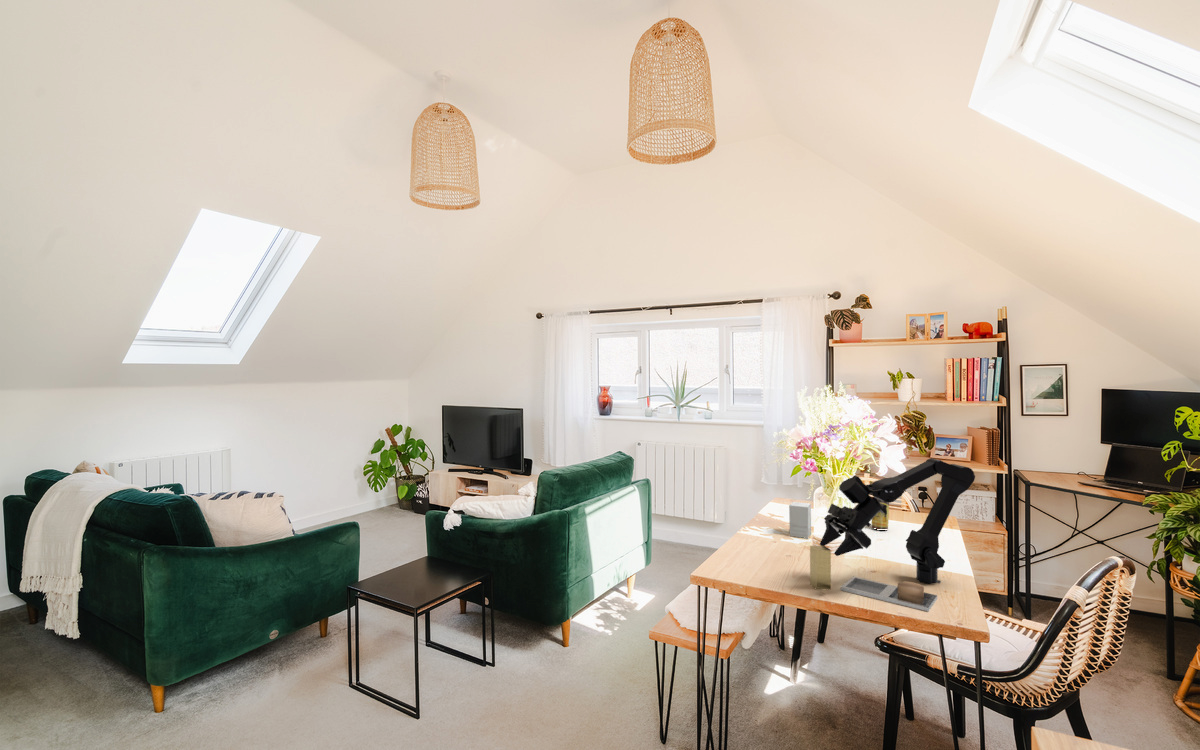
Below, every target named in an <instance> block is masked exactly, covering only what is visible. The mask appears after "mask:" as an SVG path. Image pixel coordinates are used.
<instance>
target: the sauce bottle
mask: <svg viewBox="0 0 1200 750" xmlns="http://www.w3.org/2000/svg"><path fill="white" fill-rule="evenodd" d="M872 498H875V497H873V496H872ZM876 499H877V498H876ZM877 500H878V501H879V502H880V503H881V504H884V505H886V506H887V507H886V509H887V514H884V513H881V512H878V513H877V514H876V515H875V516H874V517H873V519H872V520H871V528H872V527H873V528H876V529H888V528H889V515H890V503H888V502H885V501H882V500H880V499H877Z"/></svg>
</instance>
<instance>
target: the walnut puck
mask: <svg viewBox="0 0 1200 750" xmlns="http://www.w3.org/2000/svg"><path fill="white" fill-rule="evenodd" d="M897 586H898V599H899V600H903V601H907V602H911V603H915V604H923V603H924V592H925V588H924V586H923V585H922V584H921V583H917V582H913V581H899V582H897Z"/></svg>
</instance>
